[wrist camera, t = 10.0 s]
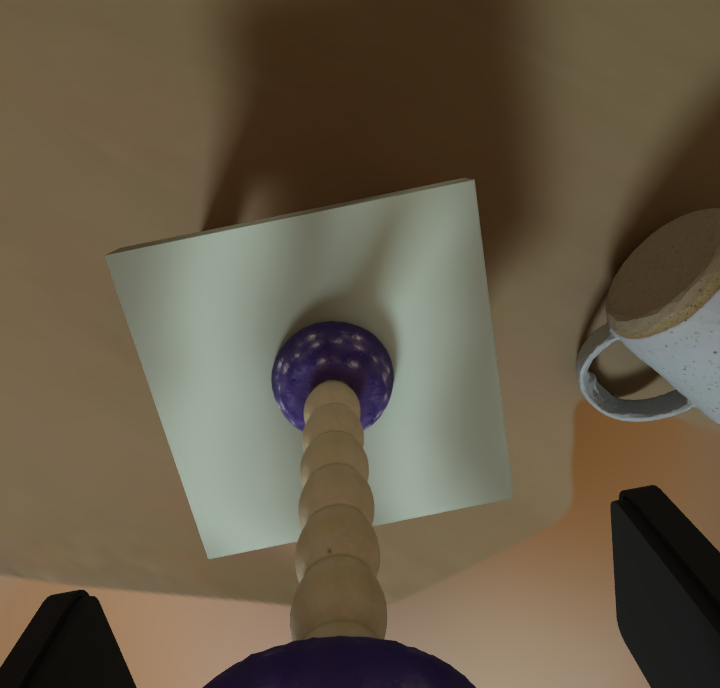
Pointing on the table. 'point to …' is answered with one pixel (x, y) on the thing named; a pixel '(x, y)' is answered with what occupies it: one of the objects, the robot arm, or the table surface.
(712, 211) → the ceramic mug
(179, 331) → the footstool
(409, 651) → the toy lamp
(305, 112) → the table surface
